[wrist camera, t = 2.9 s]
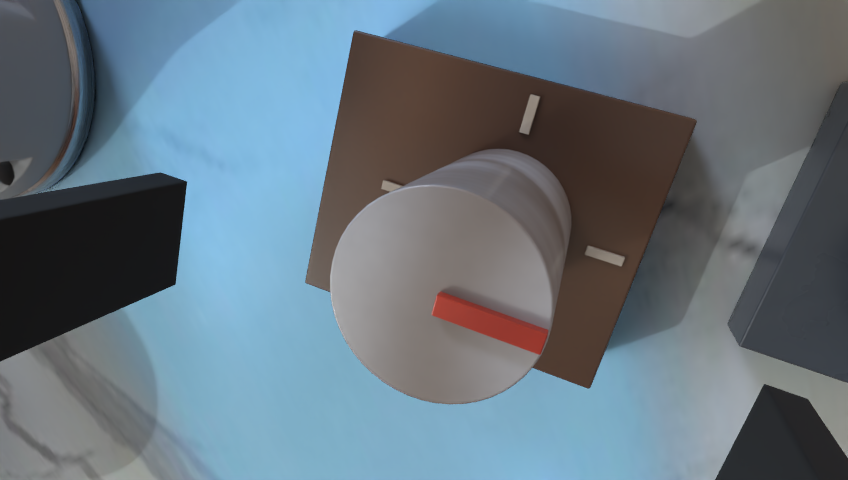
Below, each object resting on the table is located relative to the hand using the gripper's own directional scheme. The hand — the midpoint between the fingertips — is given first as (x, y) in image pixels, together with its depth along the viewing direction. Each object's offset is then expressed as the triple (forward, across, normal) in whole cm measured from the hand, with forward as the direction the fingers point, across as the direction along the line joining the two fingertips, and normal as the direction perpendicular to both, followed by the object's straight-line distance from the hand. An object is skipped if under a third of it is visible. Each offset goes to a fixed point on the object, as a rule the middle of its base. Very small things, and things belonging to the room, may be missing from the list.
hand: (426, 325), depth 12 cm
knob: (+10, 0, 0) cm, 10 cm away
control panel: (+13, -1, 0) cm, 13 cm away
